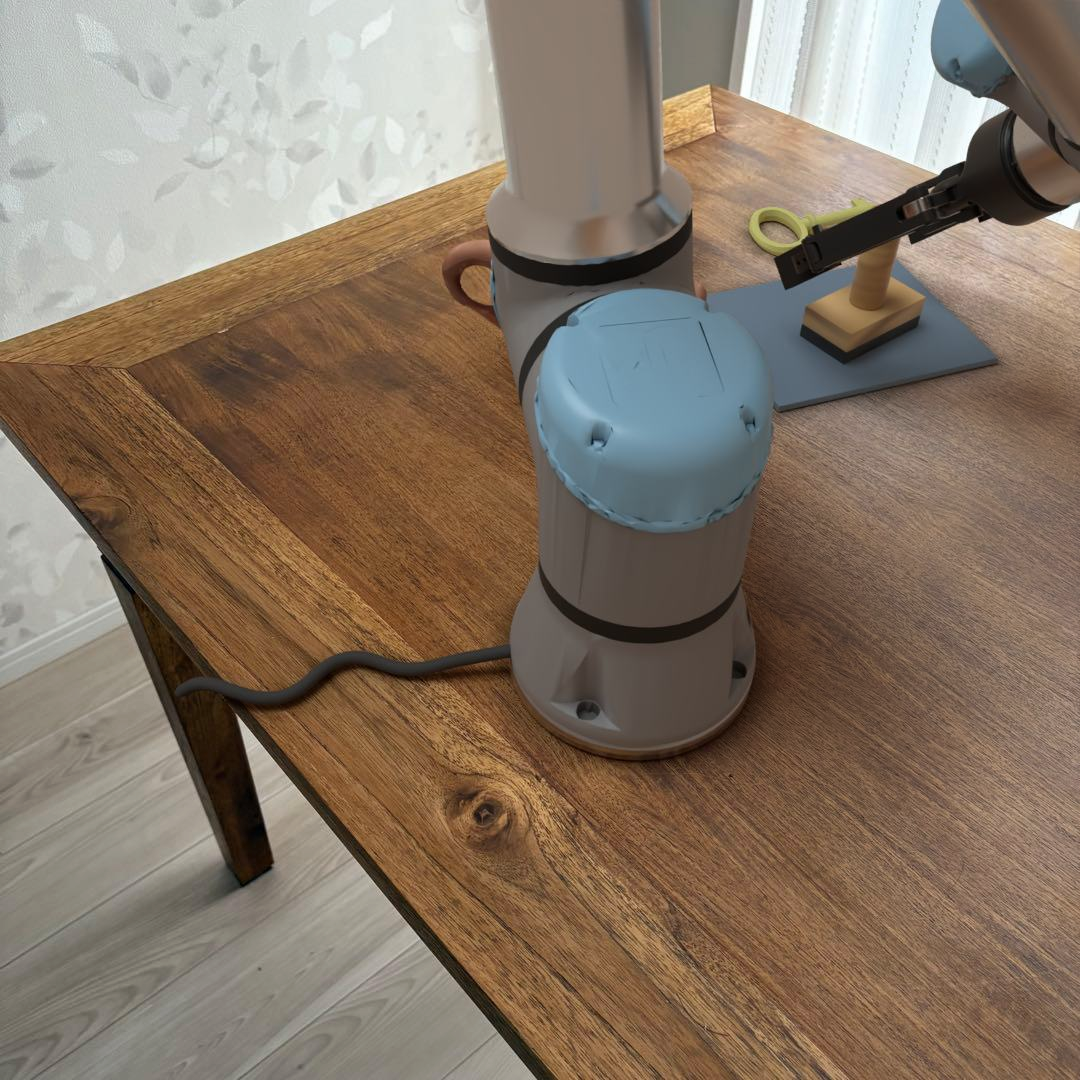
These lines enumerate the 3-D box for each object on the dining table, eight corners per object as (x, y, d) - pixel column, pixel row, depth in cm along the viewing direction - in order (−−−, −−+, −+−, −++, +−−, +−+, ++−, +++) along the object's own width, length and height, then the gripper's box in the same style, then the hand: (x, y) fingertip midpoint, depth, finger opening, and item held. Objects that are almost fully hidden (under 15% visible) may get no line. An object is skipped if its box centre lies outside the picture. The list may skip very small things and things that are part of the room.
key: (877, 224, 107) (882, 204, 105) (782, 264, 102) (786, 243, 100) (824, 193, 111) (828, 173, 109) (730, 230, 106) (733, 210, 104)
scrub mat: (777, 412, 87) (778, 406, 86) (693, 302, 97) (694, 296, 97) (996, 363, 91) (998, 357, 91) (893, 263, 102) (895, 257, 101)
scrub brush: (843, 364, 90) (872, 244, 82) (799, 335, 93) (823, 216, 85) (917, 327, 94) (952, 208, 86) (872, 299, 97) (902, 182, 89)
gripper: (927, 260, 67) (742, 338, 87) (1195, 160, 76) (972, 252, 96) (886, 141, 67) (709, 247, 87) (1161, 55, 76) (943, 169, 95)
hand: (847, 250), depth 91 cm, fingers open, 13 cm apart
